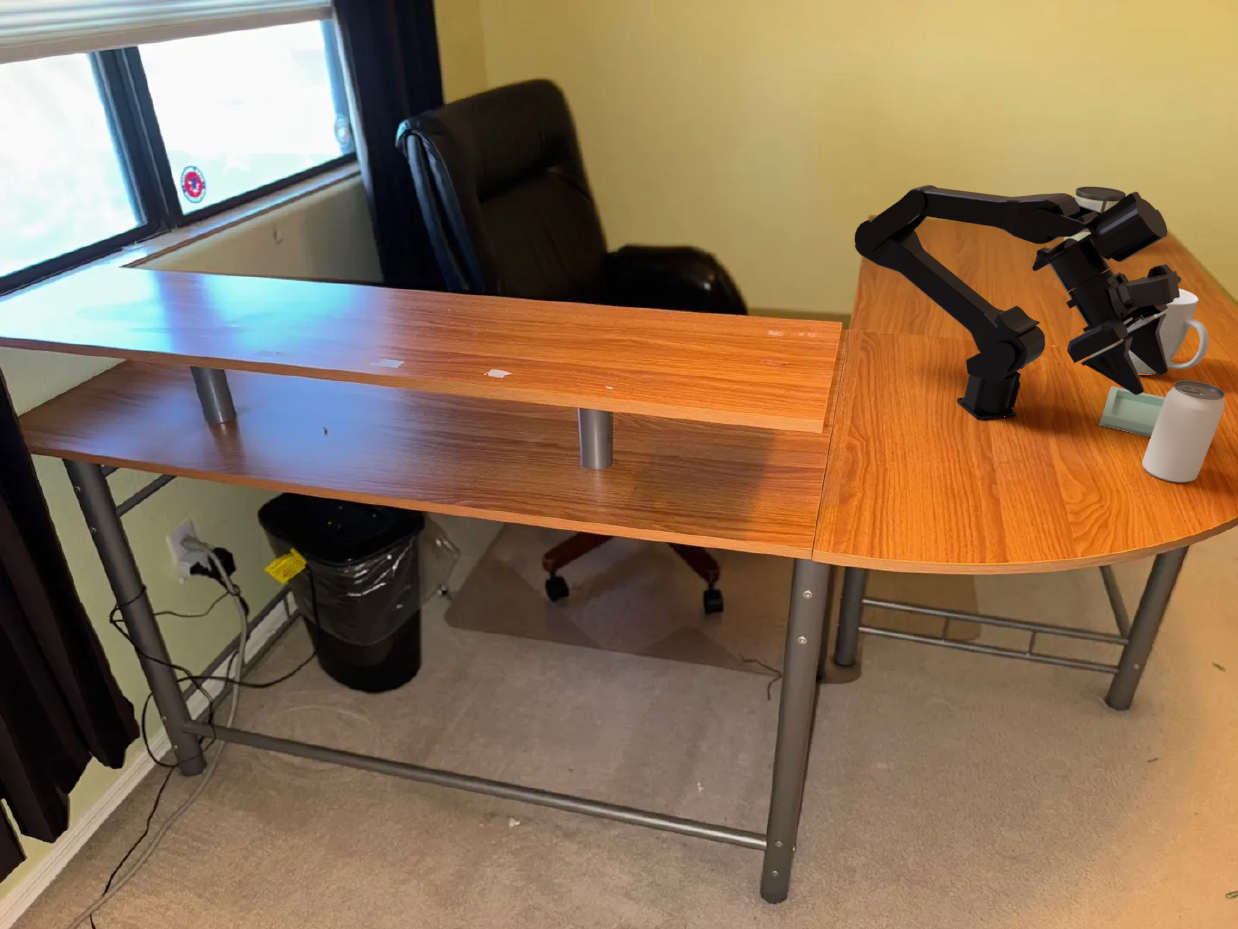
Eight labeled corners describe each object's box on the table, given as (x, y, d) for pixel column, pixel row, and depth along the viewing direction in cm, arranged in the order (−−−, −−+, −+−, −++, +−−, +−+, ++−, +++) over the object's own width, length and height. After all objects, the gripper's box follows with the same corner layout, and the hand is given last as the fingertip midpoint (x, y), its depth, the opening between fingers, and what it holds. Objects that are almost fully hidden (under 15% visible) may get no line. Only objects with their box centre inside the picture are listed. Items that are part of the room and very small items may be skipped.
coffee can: (1069, 243, 215) (1085, 184, 208) (1114, 252, 209) (1132, 191, 202) (1053, 251, 208) (1069, 190, 201) (1099, 260, 202) (1117, 198, 195)
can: (1195, 489, 112) (1229, 404, 106) (1138, 475, 115) (1168, 392, 109) (1197, 468, 117) (1229, 386, 111) (1143, 455, 120) (1171, 374, 114)
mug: (1209, 381, 143) (1238, 303, 136) (1173, 396, 137) (1202, 316, 131) (1121, 351, 154) (1144, 278, 147) (1084, 363, 148) (1107, 288, 142)
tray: (1193, 447, 122) (1197, 436, 122) (1098, 425, 128) (1102, 414, 127) (1196, 415, 131) (1200, 404, 130) (1107, 396, 137) (1111, 386, 136)
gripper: (1121, 260, 103) (1193, 375, 102) (1173, 233, 115) (1238, 336, 114) (1038, 308, 112) (1103, 414, 111) (1094, 278, 124) (1153, 374, 122)
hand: (1152, 383), depth 114 cm, fingers open, 9 cm apart
